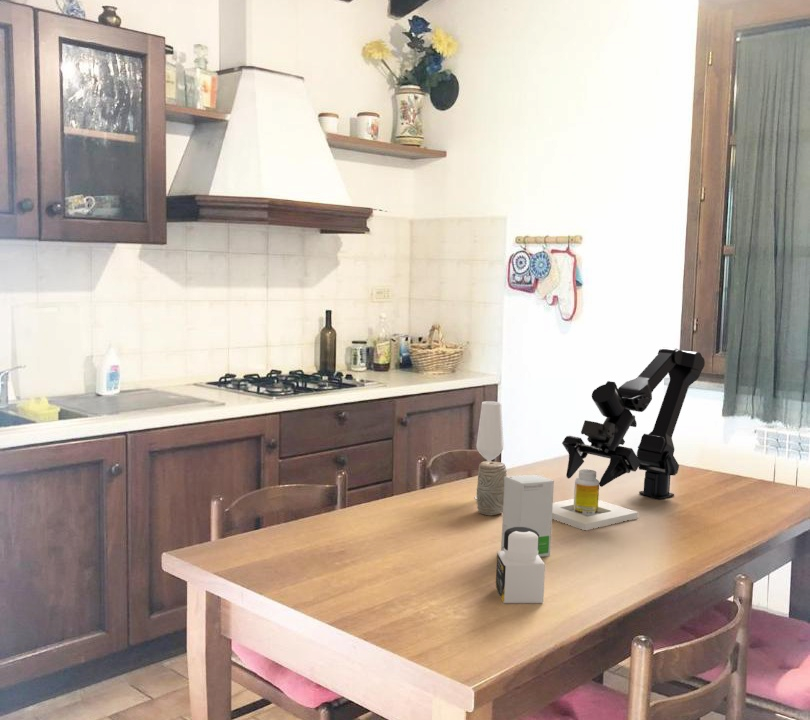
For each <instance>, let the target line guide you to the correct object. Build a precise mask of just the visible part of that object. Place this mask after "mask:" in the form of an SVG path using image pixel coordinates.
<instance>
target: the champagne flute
mask: <svg viewBox="0 0 810 720" xmlns="http://www.w3.org/2000/svg"><path fill="white" fill-rule="evenodd" d="M502 411H503V410H502V402H501V401H493V400H487V401H485V400H484V401H482V402H481V406H480V416H479V423H478V430H477V435H476V436H477V438H476V444H475V446H476V447H475V448H476V450H477V451H478V453H479V454H480V455H481V457H482V458H483V459H484V460H485V461H492V460H495V459H496V458H497V457H499V455H501V453H502V452H503V450H504V431H503V430H504V428H503V412H502ZM492 462H493V461H492ZM474 497H475V498H474V500H476V499H477V495H475V496H474Z"/></svg>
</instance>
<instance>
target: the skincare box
mask: <svg viewBox="0 0 810 720" xmlns="http://www.w3.org/2000/svg"><path fill="white" fill-rule="evenodd" d="M554 486H555V481H554V480H553V479H550V478H548V477H544V476H541V475H539V474H525V475H524V474H519V475H507V476H505V477H504V503H503V512H502V524H501V527H502V529H501V530H502V531H501V542H500V544H501V547H500V551H504V533H505V531H506V530H507V529H510V528H513V527H527V528H530V529H533V530H535V531H536V532H538V534H539V551H538V555H539V557H540V558H542V557H550V556H551V543H552V542H551V541H552V527H553V526H552V525H553V524H552V521H553V519H552V507H553V503H554Z"/></svg>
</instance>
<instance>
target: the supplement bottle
mask: <svg viewBox="0 0 810 720" xmlns="http://www.w3.org/2000/svg"><path fill="white" fill-rule="evenodd" d="M599 482H600V480H599V479H597V471H595V470H592V469H587V468H586V469H579V471H578V477H577V478H575V480H574V492H573V495H574V496H573V499H574V512H575V513H578V514H581V515H584V516H587V517H588V516H592V515H597V512H598V500H599V496H600V495H599V493H600V491H599V490H600V485H599Z"/></svg>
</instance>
